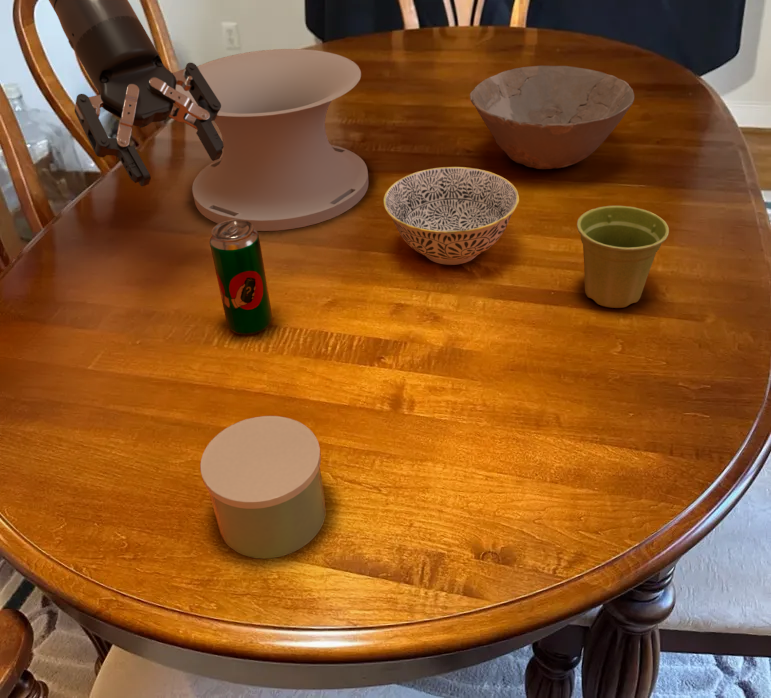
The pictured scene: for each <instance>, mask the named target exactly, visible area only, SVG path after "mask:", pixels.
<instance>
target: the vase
mask: <svg viewBox="0 0 771 698" xmlns="http://www.w3.org/2000/svg"><path fill="white" fill-rule="evenodd" d="M196 66H197V67H198V69H199V71H200V72H201V74H202V75H203V77H204V78H205V80H206V81H207V83H208V85H209V86H210V88H211V89H212V91H213V92H214V94H215V95H216V97H217V99H218V100H219V102H220V103H221V108H220V110H219V112H218V114H217V117H216V119H215V120H214V123H215V124H216V126H217V127H218V130H219V132H220V134H221V140H222V141H223V146H224V147H223V149H222V155H221V157H220V158H219V159H217V160H215V161H212V162H211V163H209V164H208V165H206V166H205V167H204V168H203V169H202V170H200V172H199V173H198V174H197V175H196V177H195V178H194V180H193V183H192V187H191V189H192V190H191V192H192V196H193V200H194V204H195V207H196V208H197V210H198V212H199V213H200V214H201V215H202V216H203V217H205V218H206V219H208V220H210V221H211V222H213V223H216V224H219V223H221V222H224V221H228V220H234V219H240V220H246V221H249V222H250V223H252V225H253V227H254V229H255V230H256V231H257V232H274V231H275V232H276V231H285V230H286V231H287V230H293V229H294V230H295V229H299V228H304V227H309V226H313V225H316V224H320V223H323V222H325V221H328V220H331V219H334V218H336V217H338V216H340V215H342V214H344V213H346V212H347V211H349V210H351V209H352V208H353V207H354V206H356V205H357V204H358V203H359V202H360V201H361V200H362V199H363V198H364V196H365V195H366V193H367V191H368V188H369V184H370V183H369V182H370V181H369V171H368V166H367V164H366V163H365V161H364V159H362V158H361V157H360V156H359V155H358V154H356V153H355V152H352V150H351V151H350V150H349V149H347V148H344V147H342V146H339V145H335V144H331V143H330V141H329V138H328V135H327V131H326V119H327V118H326V117H327V112H328V109H329V107H330V105H331V103H332V101H333V100H336V99H338V98H340V97H342V96H344V95H345V94H347V93H348V92H350V91H351V90H352V89H354V88H355V87H356V86H357V84H359V82H360V80H361V77H362V71H361V69H360V67H359V65H358V64H357V63H356V62H355V61H352V60H351V59H350V58H347V57H345V56H343V55H340V54H336V53H333V52H328V51H323V50H317V49H316V50H315V49H305V48H276V49H262V50H261V49H260V50H253V51H248V52H242V53H236V54H232V55H231V54H230V55H227V56H223V57H219V58H217V59H213V60H210V61H207V62H205V63H202V64H199V65H196ZM176 90H177V91H178V92H180V93H182V94H184V95H185V96H187V97H189V98H190V99H191V101H192V102H193V103H194V104H196V105H198V104H197V103H196V101H195V100H194V98H193V97H192V95H191V94H190V92H189V91H185V90H184V89H183V87H182V86H180V85H176Z"/></svg>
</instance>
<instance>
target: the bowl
mask: <svg viewBox="0 0 771 698" xmlns="http://www.w3.org/2000/svg"><path fill="white" fill-rule="evenodd" d="M382 202H383V207H384V209H385V211H386V213H387V215H388V216H389V217H390V218H391V220H392V221H393V224H394V226H395V228H396V230H397V232H398V233H399V235H400V237H401V239H403V241H404V242H405V243H406V244H407V245H408V246H409V247H410V248H411V249H413V250H414V251H415V252H417V253H419V254H421V255H423V256H425V257H426V258H427V259H428V260H429V261H431V262H433V263H436V264H439V265H445V266H455V265H462V264H466V263H468V262H471V261H473V260H474V259H475V258H476V257H477V256H478V255H480V254H483V253H484V252H486V251H487V250H489V249H490V248H492V247H493V246H495V244H496V243H497V242H498V241H499V240H500V238H501V236H502V235H503V234H504V231H506V228H507V226H508V224H509V222H510V219H511V217H512V215H513V214H514V212H515V211H516V209H517V208H518V205H519V202H520V194H519V191H518V189H517V188H516V186H515V185H514V183H511V181H509V180H508V179H506V178H504V177H503V176H501V175H499V174H496V173H494V172H492V171H488V170H484V169H479V168H474V167H465V166H443V167H434V168H428V169H423V170H420V171H416V172H413V173H410V174H407V175H406V176H403V177H401V178H400V179H398V180H397V181H395V182H393V184H391V185H390V187H389V188H387V189H386V192H385V194H384V195H383V201H382Z"/></svg>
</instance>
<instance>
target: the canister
mask: <svg viewBox="0 0 771 698" xmlns="http://www.w3.org/2000/svg"><path fill="white" fill-rule="evenodd" d="M321 455H322V454H321V447H320V443H319V440H318V438H317V437H316V435H315V433H314V432H313V431H312V430H311V428H309V427H307V425H305V424H304V423H302V422H300V421H298V420H296V419H293V418H289V417H285V416H279V415H261V416H260V415H259V416H255V417H250V418H246V419H243V420H240V421H237V422H235V423H233V424H230V425H229V426H227V427H226V428H224V429H223V430H221V431H220V432H219V433H217V434H216V435H215V436H214V437H213V438H212V439H211V440H210V441H209V443H208V444H207V445H206V447H205V449H204V451H203V453H202V455H201V459H200V465H199V467H200V475H201V478H202V482H203V484H204V486H205V489H206V490H207V492H208V493H209V497H210V501H211V505H212V508H213V513H214V516H215V519H216V523H217V526H218V527H217V528H218V530H219V533H220V536H221V538H222V540H223V541H224V543H225V544H226V545H227V546H228V547H229V548H231V549H232V550H233V551H234V552H237V553H238V554H240V555H242V556H245V557H249V558H253V559H276V558H281V557H284V556H286V555H290V554H293V553H295V552H297V551H299V550H300V549H302V548H303V547H305V546H307V545H308V544H309V543H310V542H311V541H313V539H314V538H315V537H316V536H317V535H318V534H319V532H320V530H321V529H322V527H323V525H324V522H325V519H326V513H327V506H326V500H325V492H324V486H323V478H322V472H321V471H322V470H321V462H322V456H321Z"/></svg>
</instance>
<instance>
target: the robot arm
mask: <svg viewBox="0 0 771 698" xmlns="http://www.w3.org/2000/svg"><path fill="white" fill-rule="evenodd" d="M48 2H49V3H50V5H51V7H52V9H53V11H54V12H55V14H56V16H57V19H58V21H59V23H60V26H61V28H62V29H61V30H62V31H63V33H64V35H65V37H66V38H67V40H68V41H67V42H68V44H69V46H70V48H71V49H72V50H73V51H74V53H75V54H76V56H77V58H78V59H79V61H80V62H81V65H82V67H83V68H84V70H85V72H86V74H87V75H88V77H89V79H90V81H91V83H92V84H93V86H94V88H95V89H96V91H97V92H98V94H97V95H92V96H88V95H87V94H85V93H79V94H78V95H76V99H75V104H74V113H75V116H76V118H77V120H78V121H79V124H80V126H81V128H82V129H83V132H84V134H85V136H86V138H87V141H88V142H89V144H90V146H91V148H92V150H93V152H94V154H95V156H96V157H98V158H105V157H107V156H114V157H116V158H118V159H119V161H120V163H121V164H122V166H123V168H124V170H125V171H126V173H127V175H128V177H129V179H130V181H132V182H133V183H135V184H136V183H138V184H139V186H140V187H146V186H147V185H149V184H150V182H151V178H152V176H151V173H150V172H149V170H148V168H147V166H146V164H145V162H144V161H143V159H142V157H141V156H140V154H139V152H138V151H137V148H136V147H135V146H134V145H130V141H131V136H132V132H133V131H132V129H133V126H135V127H139V129H142V128H145V127H148V126H149V125H151V123H160V122H163V121H166V120H167V119H168V118H170V119H172V120H174V121H176V122H177V123H184V124H186V125H188V126H190V127H192V128H193V129H196V130H197V131H196V132H195V133H196V135H197V137H198V139H199V141H200V142H201V144H202V146H203V148H204V150H205V151H206V153H207V155H208V157H209V158H210V160H211V161H212V162H214V161H216V160H217V159H219V158H221V157H222V156H223V147H224V146H223V139H222V137H221V136H220V135H219V132H218V131H217V129H216V127H215V126H214V124H213V121H214V120H215V119H216V117H217V114H218V112H219V110H220V108H221V103H220V102H219V100H218V99H217V97H216V95H215V94H214V92H213V91H212V89H211V88H210V86H209V85H208V83H207V81H206V80H205V78H204V77H203V75H202V74H201V72H200V71H199V69H198V67H197V66H198V65H197V64H195V63H193V62H188V63H186V66H185V67H184V68H183V69H180V70H177V71H174V72H171V70H169V69H168V68H167V67H166V66H165V65H164V63H163V61H162V58H161V56H160V54H159V52H158V50H157V49H156V47H155V44H154V43H153V42H152V40H151V38H150V36H149V35H148V33H147V31H146V29H145V28H144V26H143V24H142V22H141V21H140V19H139V17H138V15H137V13H136V12H135V10H134V8H133V7H132V5H131V3H130V2H129V0H48ZM176 85H180V86H182V87H183V89H184V90H185V91H189V92H190V94H191V95H192V97H193V98H194V100H195V101H196V103H197V104H198V105H196V104H194V103H193V102H192V101H191V99H190V98H189V97H187V96H185V95H184V94H182V93H180V92H178V91H177V90H176ZM174 104H175V105H176V106H178V107H176V106H175V105H174ZM101 108H102V109H103V110H104V111H106V112H108V113H110V114H111V115H113V116H115V117H117V118H118V119H119V121H118V126H117V131H116V137H109V136H108V134H107V132H106V130H105V128H104V126H103V124H102V122H101V119H100V114H101ZM214 122H215V121H214Z"/></svg>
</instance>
